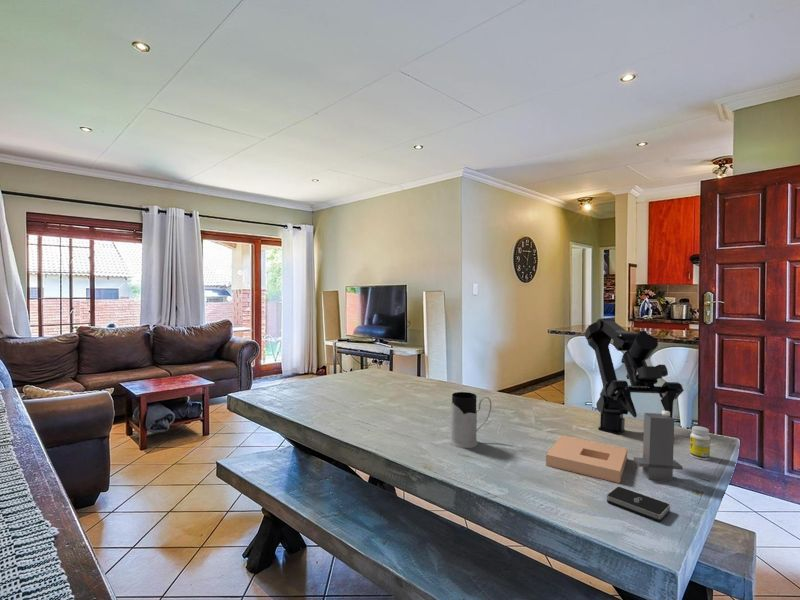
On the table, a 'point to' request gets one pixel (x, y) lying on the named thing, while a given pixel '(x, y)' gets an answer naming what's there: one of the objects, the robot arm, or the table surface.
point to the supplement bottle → (700, 443)
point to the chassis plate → (588, 458)
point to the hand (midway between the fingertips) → (653, 417)
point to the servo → (658, 447)
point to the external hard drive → (638, 504)
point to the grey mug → (465, 419)
